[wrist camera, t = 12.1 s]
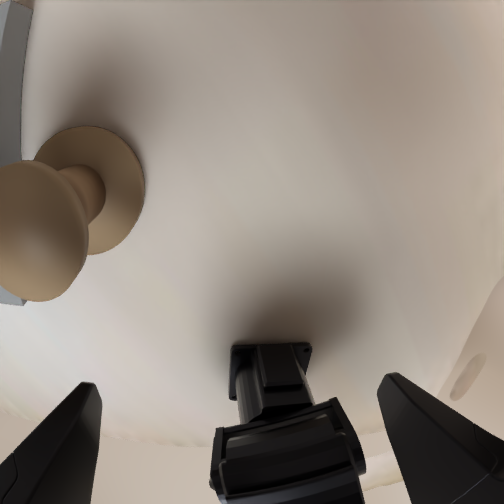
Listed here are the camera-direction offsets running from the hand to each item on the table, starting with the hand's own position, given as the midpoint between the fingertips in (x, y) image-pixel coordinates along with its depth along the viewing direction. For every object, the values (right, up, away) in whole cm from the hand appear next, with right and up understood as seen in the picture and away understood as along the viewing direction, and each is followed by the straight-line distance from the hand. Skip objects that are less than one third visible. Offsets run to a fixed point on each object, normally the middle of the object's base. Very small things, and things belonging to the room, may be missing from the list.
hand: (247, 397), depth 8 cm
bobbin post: (-10, +8, +9) cm, 16 cm away
